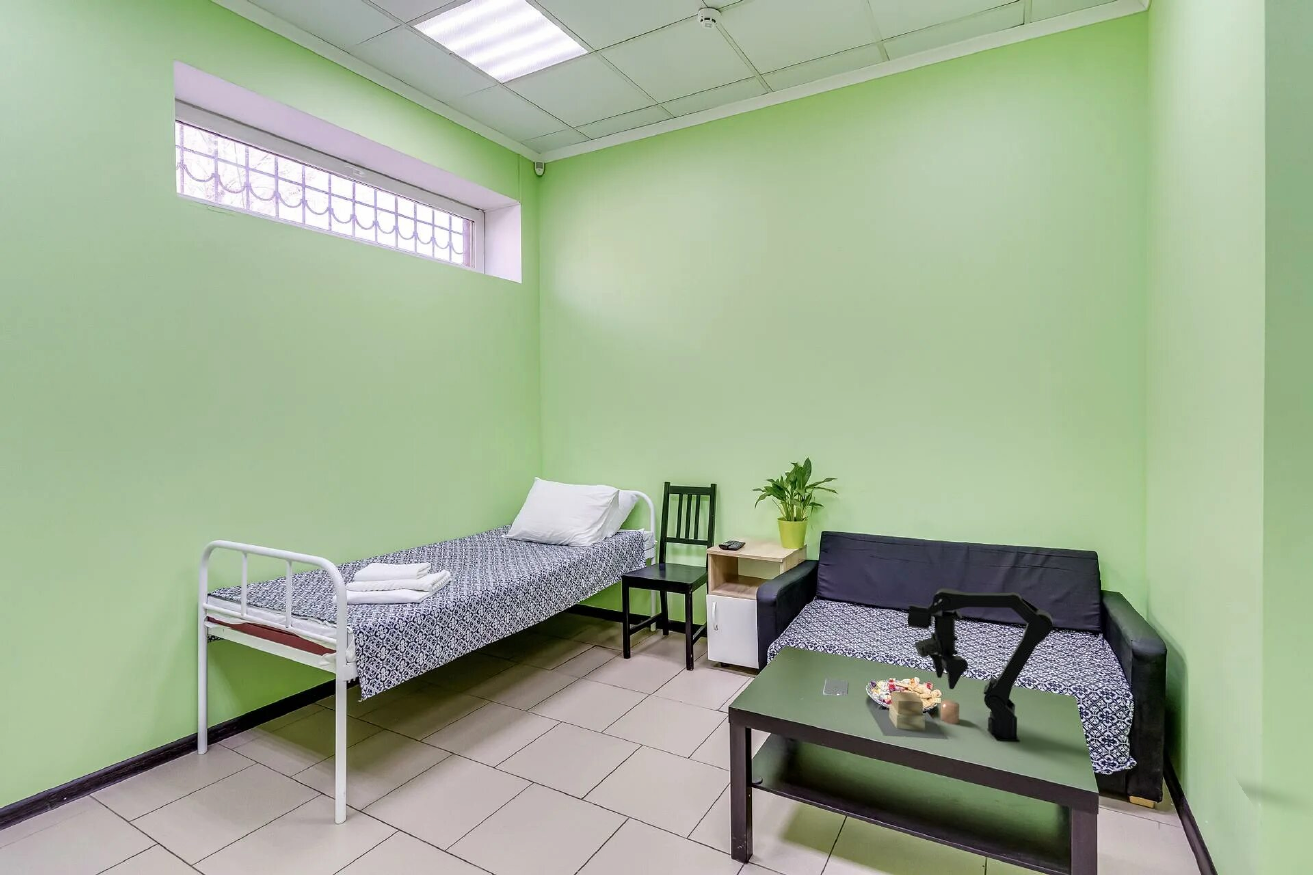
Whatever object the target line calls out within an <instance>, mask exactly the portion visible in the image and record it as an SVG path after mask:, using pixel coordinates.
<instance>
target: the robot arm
mask: <svg viewBox="0 0 1313 875" xmlns="http://www.w3.org/2000/svg"><path fill="white" fill-rule="evenodd" d="M908 608H909V609H908V615H907V627H909V628H915V629H922V630H929V628H930V627H934V632H931V635H930V637H929V638H926V639H922V640H919V641H916V642H915V643H914V646H915V650H916V652H917V654H918V655H920V657H921V658H926V657H928V656H929V657H930V659H931V660H932V664H933V666H934V670H935V674H936V677H937V678H938V679H941V678H942V677H943V674H944V672H945V671H946V675H947V676H946V678H947V684H948V688H949V690H954V689H955V688H956V685H957V684H958V682H959V680H960V678H961V677H962V675H963V674H964V672H966V671H967V670H969V662H968V661H967V660H966V659H965V658H963V657H962V656H961V655H959V651H958V650H957V649H956V642H958V641H959V637H958V636H956V620H962V618H963V615H962V614H961V613H960V612H959V611H958V610H960V609H964V608H996V609H997V608H1002V609H1003V608H1005V609H1006V608H1007V609H1008V608H1009V609H1012V610H1013V611H1014V612H1015V613H1016V615H1018V616H1019V617H1020V618H1021V619H1022V620H1024V621H1025V622H1026V624H1025V628H1024V629H1025V630H1024V633H1023V636H1022V637H1021V639H1020V641H1019V643H1018V645H1017V646H1016V647H1015V649H1014V651H1013V653H1012V654H1011V656H1010V657H1009V659H1008V662H1007V663H1006V665H1005V666H1004V668H1003V670H1002V671H1001V673H1000V675H998V676H997V677H996V678H995V677H994V676H992V675H990V678H989V680H988V683H987V684H985V685H984V688H983V695H984V697H983V701H984V705H985V706H986V707H987V709H989V710H990V712H989V716H988V718H987V728H986V729H987V730H986V731H987V732H988V733H989V734H990V735H991V736H992V737H993V738H994V740H997V741H1007V742H1009V741H1010V742H1020V741H1021V740H1020V738H1019V737H1018V717H1017V716H1016V715H1015V714H1016V704H1015V703H1014V702H1013V701H1012V700H1011V699H1010V696H1011V693H1012V689H1013V686H1014V684H1015V683H1016V681H1017V679H1018V677H1019V676H1020V674H1021V673H1022V671H1023V669H1024V667H1025V666H1026V664H1027V662H1028V661H1029V659H1030V657H1031V656H1032V654H1033V652H1035V649H1036V647H1037V646H1038V645H1039V644H1041V642H1043V641H1044V640H1045V639H1046V638H1047V637H1048V636H1049V635H1050V633H1051V632H1052V631H1053V629H1054V620H1053V618H1052V616H1051V614H1050V612H1048V611H1046V610H1043V609H1039V608H1037V607H1036V606H1035V605H1034V604H1032V603H1031V602H1030V601H1028V600H1026V599H1024V597H1022V596H1021V595H1020V594H1019V593H1017V592H1015V591H1012V592H964V591H960V590H956V589H951V588H940V589H938V590H937V591H936V593H935V594H934V595H933V599H932V603H930V604H929V605H928V606H919V605H915V604H910V605H909V606H908ZM933 622H934V626H933Z"/></svg>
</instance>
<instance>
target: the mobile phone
mask: <svg viewBox="0 0 1313 875" xmlns="http://www.w3.org/2000/svg"><path fill="white" fill-rule="evenodd" d="M848 685H849V681H847V680H841V679H835V678H826V679H825V682H824V687H823V692H822V693H823V695H824V696H828V695H832V696H837V697H846V696H847V695H848Z"/></svg>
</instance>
